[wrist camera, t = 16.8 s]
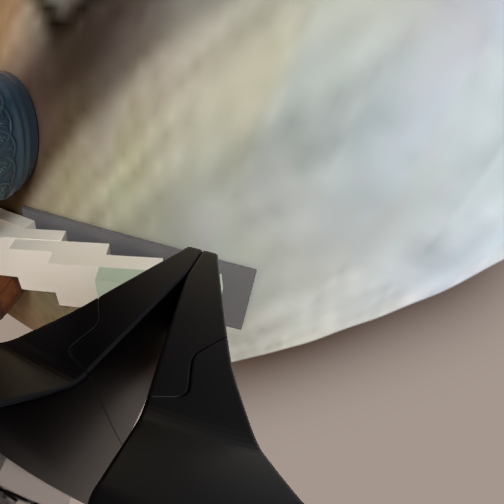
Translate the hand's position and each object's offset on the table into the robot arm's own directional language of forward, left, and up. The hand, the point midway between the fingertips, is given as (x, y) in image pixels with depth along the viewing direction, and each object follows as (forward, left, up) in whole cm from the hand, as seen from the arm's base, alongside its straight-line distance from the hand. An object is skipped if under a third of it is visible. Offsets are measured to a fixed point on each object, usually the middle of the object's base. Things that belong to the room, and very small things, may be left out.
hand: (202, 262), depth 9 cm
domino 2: (+14, -11, -12) cm, 21 cm away
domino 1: (+13, -6, -12) cm, 19 cm away
